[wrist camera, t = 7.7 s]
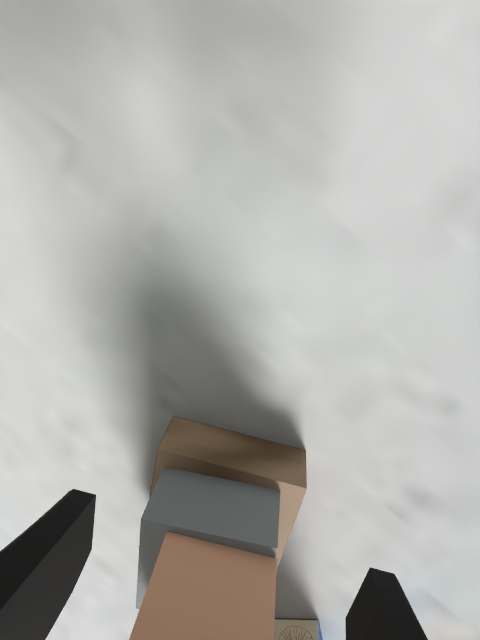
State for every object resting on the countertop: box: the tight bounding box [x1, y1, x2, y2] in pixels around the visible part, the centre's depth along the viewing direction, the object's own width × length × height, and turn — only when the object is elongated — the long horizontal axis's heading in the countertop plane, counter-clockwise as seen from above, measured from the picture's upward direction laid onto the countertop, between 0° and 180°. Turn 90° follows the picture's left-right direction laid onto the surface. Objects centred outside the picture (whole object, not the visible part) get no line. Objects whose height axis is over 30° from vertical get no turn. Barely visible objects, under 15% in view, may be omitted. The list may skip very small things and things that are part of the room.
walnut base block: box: [149, 416, 307, 569], centre depth 21 cm, size 7×7×3 cm
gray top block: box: [136, 467, 280, 609], centre depth 18 cm, size 6×6×3 cm
